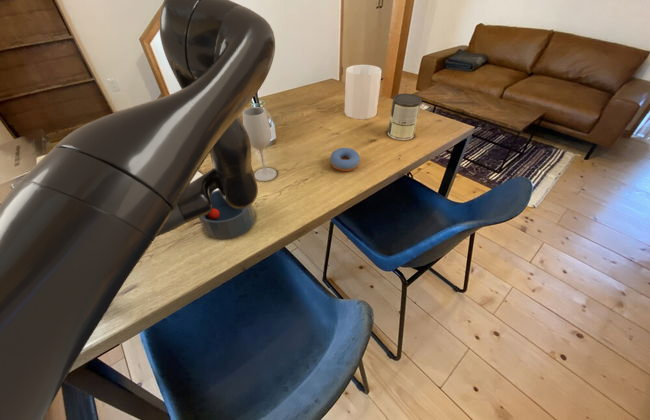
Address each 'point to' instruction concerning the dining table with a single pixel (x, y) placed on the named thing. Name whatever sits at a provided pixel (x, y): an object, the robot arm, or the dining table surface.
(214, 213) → the ball
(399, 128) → the coffee can
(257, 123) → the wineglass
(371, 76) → the container
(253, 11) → the robot arm
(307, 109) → the dining table surface
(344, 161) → the doughnut
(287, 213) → the dining table surface
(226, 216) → the bowl
